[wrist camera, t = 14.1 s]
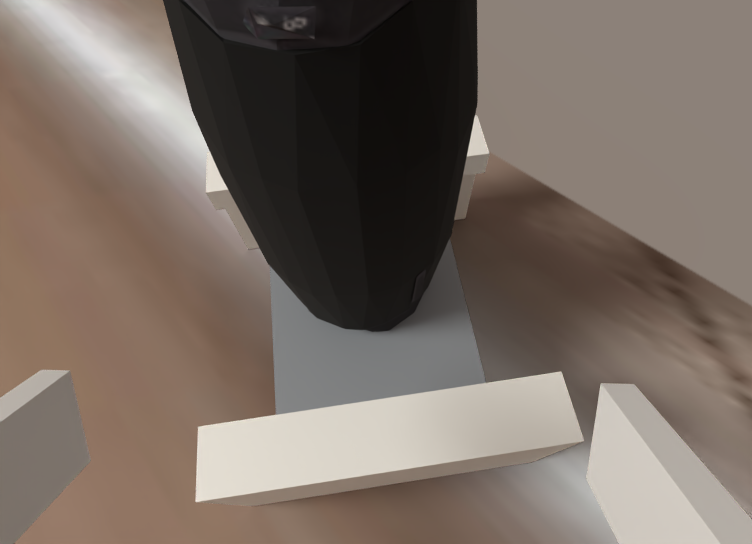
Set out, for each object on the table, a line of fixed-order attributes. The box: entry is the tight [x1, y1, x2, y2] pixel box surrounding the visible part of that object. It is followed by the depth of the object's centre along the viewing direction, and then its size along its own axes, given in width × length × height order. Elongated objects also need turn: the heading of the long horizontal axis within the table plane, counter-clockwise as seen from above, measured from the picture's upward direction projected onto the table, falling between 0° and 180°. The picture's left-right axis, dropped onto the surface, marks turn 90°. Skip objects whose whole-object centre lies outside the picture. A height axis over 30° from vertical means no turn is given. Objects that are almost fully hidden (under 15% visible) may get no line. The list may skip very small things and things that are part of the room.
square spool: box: [196, 116, 584, 506], centre depth 32 cm, size 22×19×10 cm
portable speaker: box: [163, 0, 478, 332], centre depth 19 cm, size 9×9×20 cm
